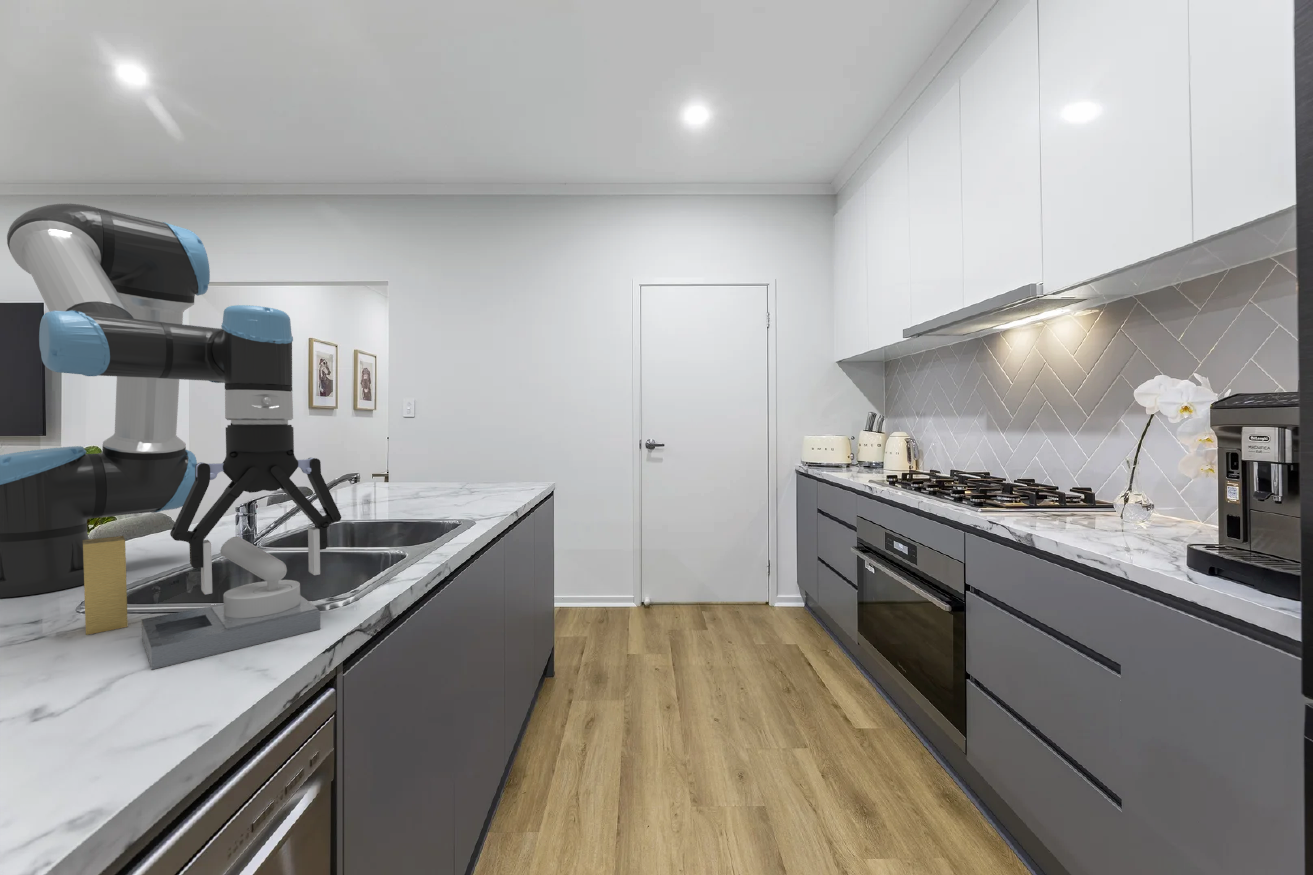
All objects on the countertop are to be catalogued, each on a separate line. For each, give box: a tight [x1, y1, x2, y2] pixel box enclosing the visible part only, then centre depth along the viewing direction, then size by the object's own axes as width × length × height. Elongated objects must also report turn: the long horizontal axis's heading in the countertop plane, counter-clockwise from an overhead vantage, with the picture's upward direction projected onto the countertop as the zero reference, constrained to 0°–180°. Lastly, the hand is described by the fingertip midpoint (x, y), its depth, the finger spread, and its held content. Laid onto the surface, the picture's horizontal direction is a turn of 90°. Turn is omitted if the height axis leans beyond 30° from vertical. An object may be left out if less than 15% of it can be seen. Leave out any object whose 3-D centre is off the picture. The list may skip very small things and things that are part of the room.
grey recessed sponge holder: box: [140, 594, 321, 670], centre depth 74 cm, size 13×17×3 cm
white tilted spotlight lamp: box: [219, 536, 301, 618], centre depth 77 cm, size 9×10×10 cm
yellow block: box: [83, 535, 129, 636], centre depth 76 cm, size 4×4×12 cm
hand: (263, 581), depth 76 cm, fingers open, 11 cm apart
